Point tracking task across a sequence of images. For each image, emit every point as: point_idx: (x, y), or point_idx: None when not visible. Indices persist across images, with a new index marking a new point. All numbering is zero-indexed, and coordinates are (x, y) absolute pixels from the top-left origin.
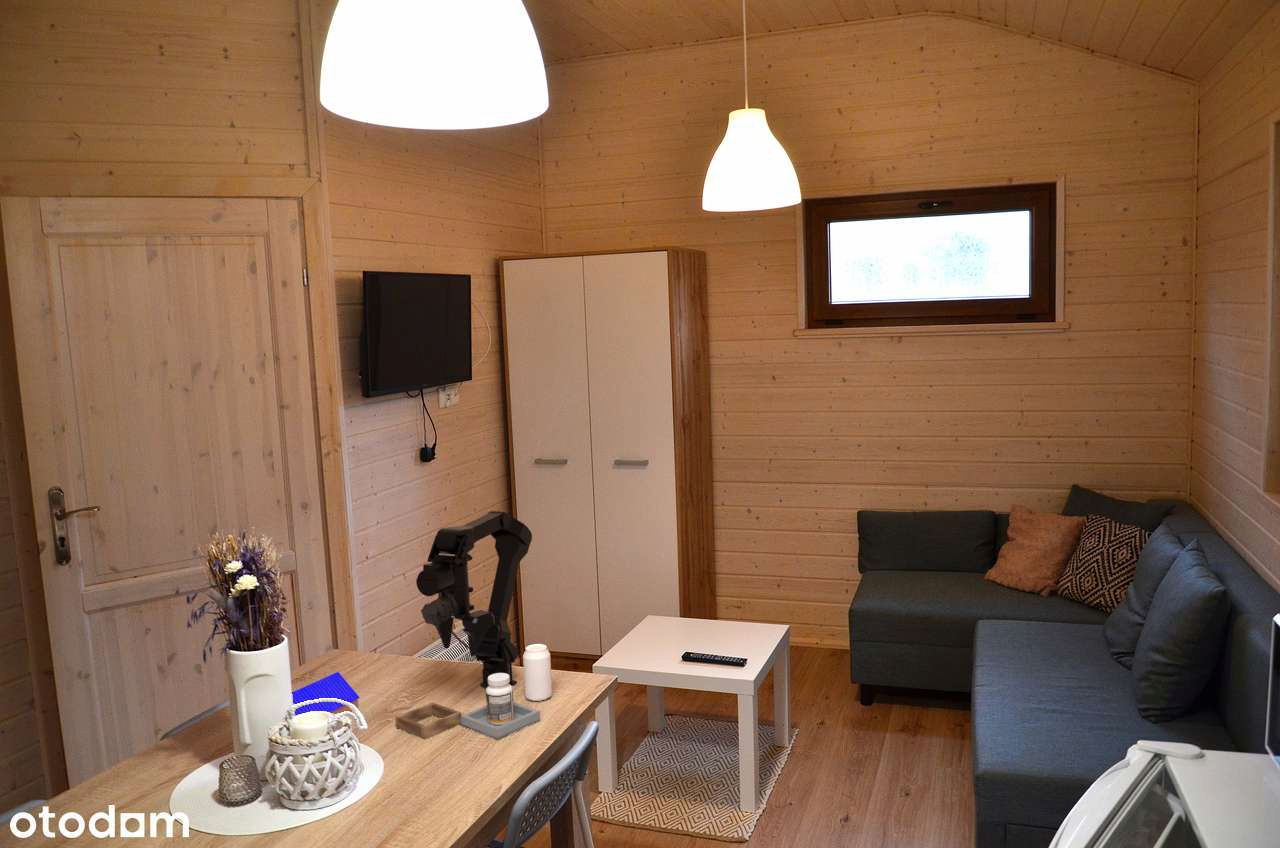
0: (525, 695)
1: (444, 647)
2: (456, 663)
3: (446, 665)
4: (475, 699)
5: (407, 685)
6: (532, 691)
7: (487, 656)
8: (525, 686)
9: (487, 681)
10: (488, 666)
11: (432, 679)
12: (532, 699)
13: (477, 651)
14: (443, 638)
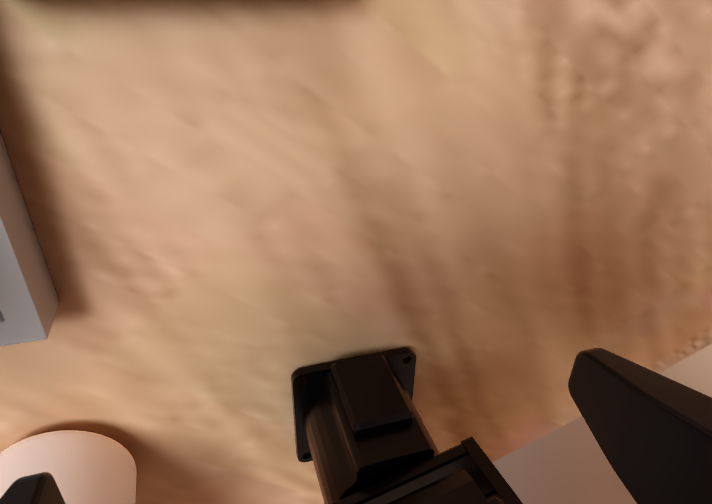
0: (83, 436)
1: (603, 351)
2: None
3: (662, 345)
4: (299, 262)
5: (700, 138)
6: (2, 481)
7: (397, 499)
8: (60, 481)
9: (356, 379)
10: (381, 447)
11: (636, 247)
12: (19, 441)
13: (458, 494)
14: (705, 440)
